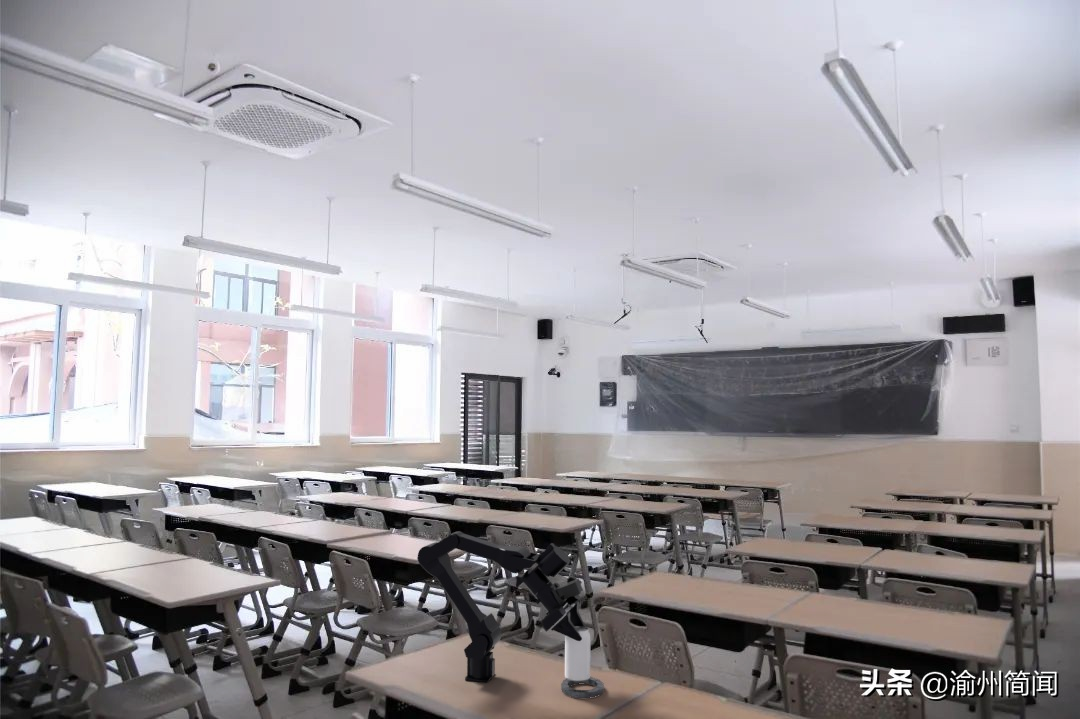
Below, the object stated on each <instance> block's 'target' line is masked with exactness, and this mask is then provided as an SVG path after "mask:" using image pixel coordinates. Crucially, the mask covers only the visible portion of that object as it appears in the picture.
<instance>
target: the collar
mask: <svg viewBox="0 0 1080 719" xmlns="http://www.w3.org/2000/svg"><path fill="white" fill-rule="evenodd" d="M579 683H584V684H583V685H586V684H590V685H589V686H591V685H593V686H592V687H594V686H595V687H596V688H595V687H594V688H591V689H576V688H573V687H572V686H571V685H573V686H575V685H574V684H578V685H580V684H579ZM569 686H570V687H569ZM560 687H561V688H560V689H561V690H562V691H561V692H562V693H563V694H564V695H565V696H567V697H569V696H571V697H570V698H572V697H573V699H578V698H590V697H595V696H598V695H600V696H602V695H603V694H604V690H605V683H603V681H601V679H599V678H596V677H594V676H590V678H589V679H588V680H586V681H571V680H568V679H566V678H565V679H563V681H562V682H561V684H560ZM601 694H602V695H601ZM574 697H575V698H574ZM598 697H599V696H598ZM590 699H591V698H590Z"/></svg>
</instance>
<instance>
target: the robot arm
mask: <svg viewBox="0 0 1080 719" xmlns="http://www.w3.org/2000/svg"><path fill="white" fill-rule="evenodd" d="M455 549H456V550H460V551H463V552H465V553H468V554H471V555H474V556H476V557H477V556H478V557H480V558H483V559H487V560H490V561H493V562H494V563H496V564H497V565H498V566H499V567H501V568H502V569H504V570H506V571H508V572H509V573H511V574H518V575H517V576H515V578H516V579H515V580H516V581H515V582H516V583H515V588H519V587H520V586H522V585H524V586H525V587H526V588H527V589H528V590H529V592H530V593H531V594H532V595H533V596H534V597H535V599H536V600H535V601H534V602H535V603H536V604H537V605H539V604H541V605H542V607H543V608H544V609H545V611H547V612H546V613H545V614H546V616H544V618H542V620H541V621H540V622H541V628H542V629H543V630H544V631H545V632H546V633H547V632H548V631H549V630H551V631H552V632H553V631H554V632H557V633H559V634H561V635H564V636H565V635H566V636H568V637H570V638H572V639H574V640H576V641H581V640H582V637H581V636H580V634H579V632H578V631H577V629H576V628H575V626H582V627H586V625H585V622H584V620H583V618H582V616H581V614H580V612H579V606H580V601H578V600H579V599H580V598H581V596H580V594H581V593H582V592H583V591H584V589H583V587H582V582H583V581H581V580H580V578H579V577H578V578H577V577H576V576H575V575H572V576H569V577H568V578H567V581H566V583H564V584H561V585H560V584H559V583H558V582H554V583H553V581H552V580H550V577H552V578H555V577H557V576H558V575H559V573H561V571H563V569H566V567H567V566H568V565H569V564H570V563H571V559H570V557H569V555H568V554H567V553H566V551H565V550H563V549H562V548H560V547H559V546H557V545H556V544H555V543H552V542H551V543H550V544H549V545H547V547H546V549H545V550H544V551H543V552H542V553H541V554H540V553H535V552H533V551H530V549H528V547H527V548H526V547H524V546H517V545H516V546H515V545H501V544H498V543H495V542H491V541H488V540H485V539H481V538H478V537H475V536H472V535H469V534H466V533H464V532H462V531H460V530H459V531H455V532H452V533H451V534H449V535H448V536H446V537H445V538H443V539H442V540H440V541H438V542H437V541H436V542H432V543H429V544H427V545H424V546H422V547H421V548H420V549H419V550H418V553H417V556H416V559H417V562H418V563H419V564H418V565H420V566H421V567H422V569H424V570H425V571H426V573H428V574H430V575H431V576H433V577H434V578H435V579H437V581H438V582H439V584H440V585H441V586H442V588H443V590H444V591H445V593H446V594H447V595H448V597H449V598H450V600H451V601H452V603H453V604H454V606H455V608H456V609H457V611H458V612H459V613H460V616H461V617H462V618H463V620H464V621H465V623H466V624H467V631H468V636H469V638H470V640H471V642H470V643H469V644H468V645H467V646H466V647H465V648H464V649H463V651H464V655H465V657H466V659H467V661H466V664H467V665H466V668H467V670H466V671H467V672H466V676H465V677H464V680H465V681H473V682H482V683H483V682H484V683H489V681H491V679H492V678H493V677H494V675H495V674H496V669H495V668H496V658H494V651H493V650H494V649H495V647H496V645H497V644H498V643H499V642H500V641H501V638H502V630H501V624H500V623H499V622H498V621H497V620H496V618H495V615H494V614H493V613H492V612H491V613H489V614H488V615H487V614H485V613H484V612H482V611H481V609H480V608H479V607H478V604H477V603H476V602H475V600H474V599H473V598H472V596H471V595H470V593H469V592H468V590H467V588H466V587H465V585H464V584H463V583H462V581H461V579H460V578H459V577H458V575H457V574H456V572H455V570H454V569H453V567H452V563H451V557H450V555H449V553H450V552H453V551H454V550H455ZM536 564H537V565H536ZM535 565H536V567H535V568H532V567H534V566H535ZM525 569H526V570H525ZM524 570H525V571H524ZM523 571H524V573H522V574H519V573H521V572H523Z"/></svg>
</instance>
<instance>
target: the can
mask: <svg viewBox="0 0 1080 719" xmlns="http://www.w3.org/2000/svg"><path fill="white" fill-rule="evenodd" d="M575 628H576V629H577V631H578V632H579V634H580V636H581V637H582V640H581V641H576V640H574V639H572V638H570V637H568V636H566V635H564V678H565V679H568V680H571V681H586V680H588V679H589V678H590V677H591V633H590V630H589V629H590V628H589V627H587V626H585V627H582V626H575Z"/></svg>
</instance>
